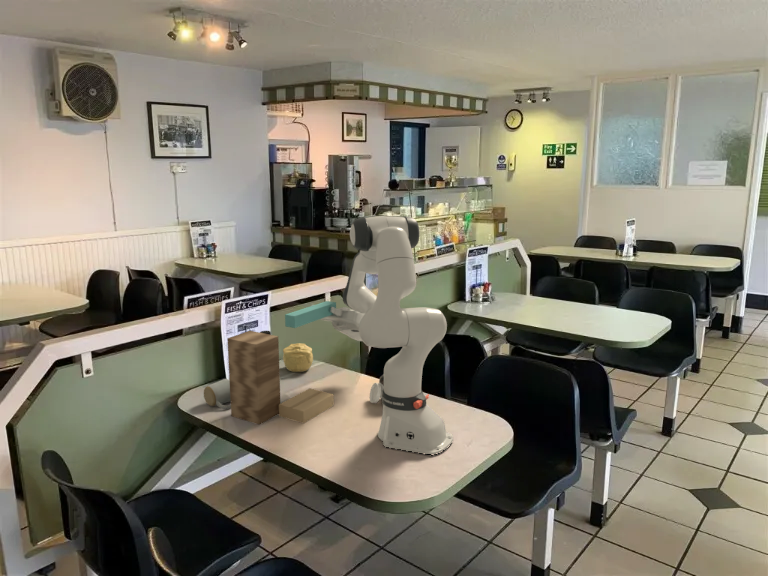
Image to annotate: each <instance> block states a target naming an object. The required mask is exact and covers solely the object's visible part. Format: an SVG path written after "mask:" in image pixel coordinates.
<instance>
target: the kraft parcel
mask: <svg viewBox="0 0 768 576" xmlns="http://www.w3.org/2000/svg"><path fill="white" fill-rule="evenodd" d="M334 398H335V397H334V393H329V392H325V391H323V390H318V389H313V388H312V387H311V388H310V387H309V388H308V389H306V390H303V391H302V392H300V393H298V394H296V395H294V396H293V397H290V398H289V399H286V400H284V401H283V402H281V404H279V414H278V416H279V417H280V418H284V419H287V420H288V419H289V420H291V421H295V422H298V423H302V424H305V423H307V422H309V421H310V420H312V419H313V418H315V417H317V416H318V415H321V414H322V413H323V412H325V411H327V410H328V409H330V408H332V407H333V406H334V404H335V403H334V402H335V401H334Z"/></svg>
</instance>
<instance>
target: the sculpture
mask: <svg viewBox="0 0 768 576" xmlns="http://www.w3.org/2000/svg"><path fill="white" fill-rule="evenodd" d="M282 352H283V356H282V360H283V364H284V367H285V368H286V369H287V370H288V371H290V372H292V373H302V372H306V371H308V370H309V369H310V368H311V367H312V364H313V362H314V354H313V348H312V347H311V346H308V345H306V343H300V342H299V343H298V342H297V343H290V345H288V346H286V347H285V348H283V349H282Z"/></svg>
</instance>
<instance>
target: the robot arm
mask: <svg viewBox="0 0 768 576" xmlns="http://www.w3.org/2000/svg"><path fill="white" fill-rule="evenodd" d="M420 233H421V231H420V227H419V223H418V221H417V220H416V219H415V218H414V217H410V216H395V215H393V216H391V215H387V216H385V215H376V216H370V217H364V216H362V217H359V218H356V219H354V220H353V221H352V223H351V227H350V231H349V238H350V242H351V244H352V247H353V248H355V249H356V250H357V251H359V252H357V253H356V254H355V255H354V257H353V259H352V263H351V265H350V270H349V274H348V278H347V281H346V286H345V288H344V289H343V292H342V302H343V303H344V305H346V306H343V307H340V308H337V307H336V308H334V307H329V310H328V311H329V312H330V313H333V315H330V316H327V317H324V318H322V319H319V320H321V321H325V322H331V326H332V327H333V329H334V330H336V331H338V332H340V333H341V334H343V335H346V336H347V337H348V338H350V339H352V340H355V341H358V342H362V343H363V344H365V346H367V347H373V348H378V349H387V348H389V349H390V348H400V347H402V348H401V349H400V351H399V352H398V353H397V354H395V355H393V356H392V357H391V358H389V359H388V360H387V361H386V362H385V364H384V368H383V374H384V389H383V390H382V400H381V404H382V412H381V421H380V423H379V424H380V425H379V429H378V432H377V438H379V440H380V441H381V442H382V441H383V442H382V446H383V445H384V446H385V447H384V446H383V447H384V448H386V447H389V448H388V449H391V448H395V449H394V450H397V449H401V450H400V451H402V450H406V451H405V452H408V451H412V452H411V453H414V452H419V453H425V454H436V453H439V452H441V451H443V450H445V449H446V448H447V447H448V446H449V445H450V444H451V443H452V441H453V442H454V436H453V434H452V433H451V432H449V431H446V430H447V429H446V423H445V421H444V419H443V417H441V415H439V413H437V412H436V411H435V410H434V409H433V408H432V407H431V406H429V404H427V400H428V399H429V398H430V397H429V395H430V394H429V393H428V394H426V395H424V392H423V390H422V381H423V379H422V378H423V377H422V376H423V368H424V365H425V361H426V359H427V357H428V355H429V354H430V352H431V351H432V349H433V348H434V347H435V346H436V345H437V344H438V343H440V342H441V341H443V339H444V337H445V335H446V333H447V327H448V324H447V323H448V322H447V319H446V317H445V315H444V313H443V312H442V311H441V310H440V309H438V308H433V307H425V306H423V307H422V306H421V307H407V308H406V307H401V300H402V299H404V298H405V297H407V296H409V295H411V294H412V293H413V292H414V291H415V289H416V286H417V276H416V275H417V274H416V267H415V260H414V254H413V250H412V249H414V248H416V246H417V245H418V244H419V241H420V236H421V234H420ZM366 274H369V275H377V283H378V286H377V287H378V288H377V289H378V290H377V295H376V294H375V293H374V292H372V291H371V290H370V289H369V288H368V287H367V286H366V284H365V282H364V281H365V277H366ZM313 305H314V304H310V306H313ZM452 444H453V443H452ZM452 444H451V445H452ZM446 450H447V449H446ZM446 450H445V451H446ZM419 453H418V454H419ZM425 454H424V455H425Z"/></svg>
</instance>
